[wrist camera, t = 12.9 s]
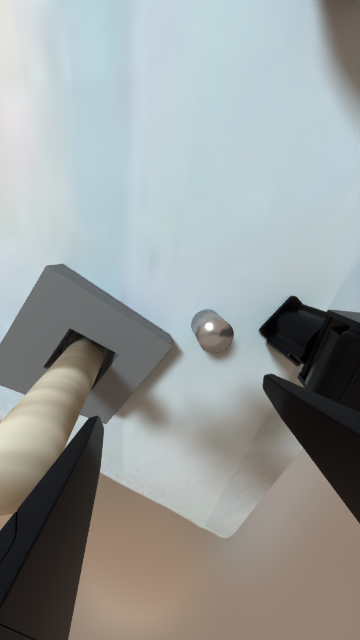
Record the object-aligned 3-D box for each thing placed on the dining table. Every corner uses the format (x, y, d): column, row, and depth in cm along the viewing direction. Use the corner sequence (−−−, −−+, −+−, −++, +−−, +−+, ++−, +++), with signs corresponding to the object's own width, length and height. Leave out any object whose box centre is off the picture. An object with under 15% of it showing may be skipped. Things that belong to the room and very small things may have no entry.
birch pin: (72, 331, 20) (-70, 470, 7) (108, 333, 21) (38, 462, 8) (74, 360, 21) (-42, 520, 8) (108, 361, 22) (48, 509, 9)
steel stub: (205, 303, 21) (216, 313, 18) (226, 320, 23) (240, 333, 19) (185, 327, 22) (191, 341, 18) (206, 342, 24) (216, 358, 20)
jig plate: (63, 263, 17) (46, 265, 15) (169, 334, 22) (172, 345, 19) (4, 360, 20) (-20, 377, 17) (111, 405, 25) (105, 424, 22)
